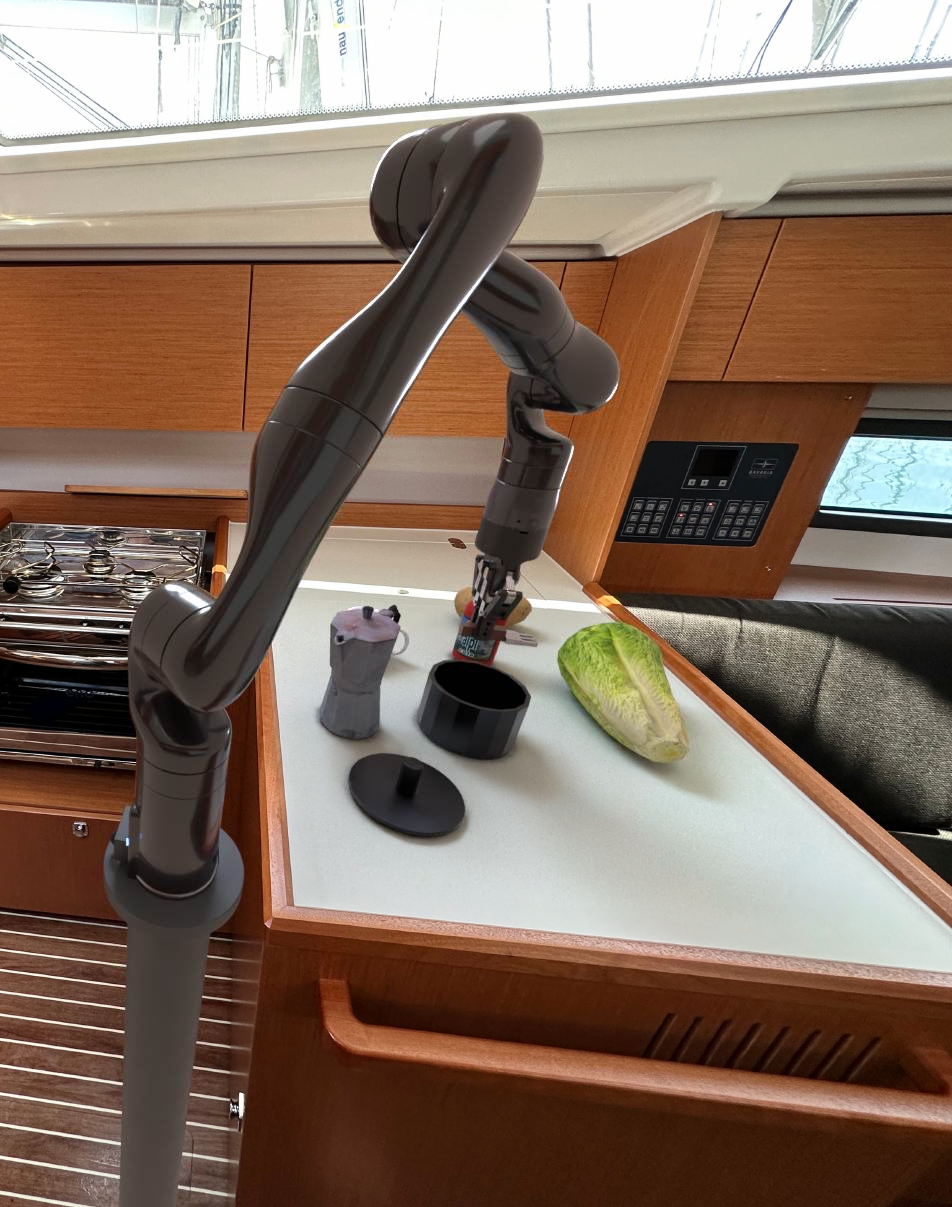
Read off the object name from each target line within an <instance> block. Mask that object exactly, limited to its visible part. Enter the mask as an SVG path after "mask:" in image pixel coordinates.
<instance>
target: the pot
mask: <svg viewBox="0 0 952 1207" xmlns="http://www.w3.org/2000/svg"><path fill="white" fill-rule="evenodd" d="M531 699H532V695H531V693H530V691H529V690H528V688H527V686H526V685H525V684H523V683H522V681H520V680H518V679H517V678H516V677H515V676H513V675H512V674H509V673H508V672H505V671H504V670H502V669H500V668H498V667H495V666H492V665H491V666H489V665H486V664H483V663H479V662H475V661H468V660H461V659H444V660H441V661H439V662H436V663H434V664H433V665H432V667H431V669H430V670H429V673H428V676H427V679H426V682H425V686H424V689H423V692H422V695H421V699H420V703H419V707H418V710H417V713H416V722H417V726H418V728H419V730H420V731H421V733H422V734H423V735H424V736H425V737H426V738H427V739H428V740H430V741H431V742H432V743H434V744H435V745H436V746H438V747H440V748H442V749H444V750H445V751H447V752H449V753H452V754H455V755H457V756H461V757H463V758H464V757H465V758H467V759H472V760H480V761H492V760H498V759H501V758H503V757H504V758H505V757H506V756H507V755H508V754H510V752H511V751H512V750H513V747H514V745H515V743H516V740H517V737H518V734H519V732H520V730H521V727H522V724H523V721H524V720H525V717H526V715H527V712H528V709H529V707H530V703H531Z"/></svg>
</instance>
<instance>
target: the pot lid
mask: <svg viewBox="0 0 952 1207" xmlns="http://www.w3.org/2000/svg"><path fill="white" fill-rule="evenodd" d="M347 781H348V787H349V790H350V793H351V795H352V797H353V798H354V800H355V802H357V804H358V805H359V806H360V808H361V809H363V810H364V811H365V812H366V813H367V814H368V815H370V816H371V817H373V818H374V819H375V820H377V821H378V822H380V823H382V824H383V825H386V826H388V827H390V828H392V829H394V830H397V831H399V832H403V833H407V834H410V835H417V836H427V837H429V836H430V837H431V836H432V837H433V836H440V835H444V834H447V833H450V832H451V831H453V830H455V829H457V827H459V825H461V823H462V821H463V819H464V818H465V814H466V805H465V800H464V797H463V795H462V793H461V792H460V790H459V789H458V787H457V786H456V784H454V782H452V780H451V779H450V778H449V777H448V776H446V774H444V773H442V772H441V771H440V770H438V769H437V768H435V767H434V766H432V765H430V764H429V763H426V762H424V761H422V760H420V759H419V758H416V757H412V756H408V755H403V754H398V753H392V752H391V753H390V752H378V753H372V754H368V755H365V756H363V757H361V758H359V759H358V760H356V762H354V764H352V766H351V767H350V770H349V774H348V780H347Z"/></svg>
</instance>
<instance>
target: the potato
mask: <svg viewBox="0 0 952 1207" xmlns="http://www.w3.org/2000/svg"><path fill="white" fill-rule="evenodd" d="M471 592H472V586H468V587H463V588H462V589H460V590H459V591H458V592H457V593H456V594H455V597H454V599H453V600H454V601H453V604H454V605H453V606H454V610H455V612H456V614H457V615H458V617H460V619H462V618H463V615H464V612H465V608H466V605H467V604H468V603H469V602H470V601H471V600H473V598H474V596H472V593H471ZM532 607H533V606H532V604H531V602H530V601H529V600H528V599H527V598H526V597H525V596H523V598H522V600H521V601H520V602H519V604H518V605H517V606H516V608H515V609H514V610H513V611H512V613H511V614H510V615H509V618H508V621H507V624H506V627H505V629H506V628H507V629H508V628H510V627H513V626H515V625H518V624H520V623H522V622H525V620H526V619H527V617H528V616H529V615H530V614H531V613H532V611H533V608H532Z"/></svg>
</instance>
